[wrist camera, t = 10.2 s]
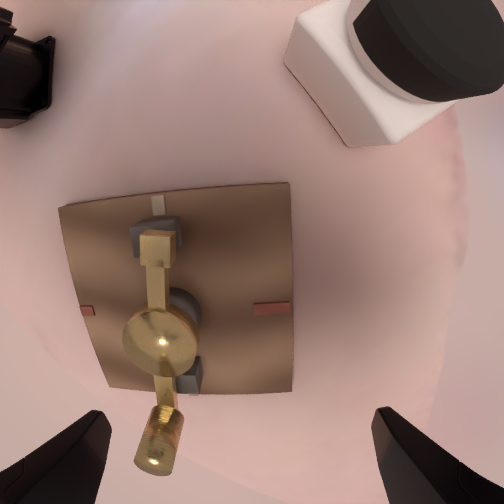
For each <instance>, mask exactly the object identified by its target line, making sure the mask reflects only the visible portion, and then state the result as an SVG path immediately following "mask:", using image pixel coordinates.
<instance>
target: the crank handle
mask: <svg viewBox="0 0 504 504" xmlns="http://www.w3.org/2000/svg"><path fill="white" fill-rule="evenodd" d="M175 261H176V231H165V230H152V229H147V230H146V231H144V232H143V233H142V234H140V265H144V266H146V281H147V299H148V303H146V304H144V305H142V306H141V307H139V308H138V309H137V310H136V312H135V313H134V314H133V316H132V317H131V319H130V320H129V321H128V323H127V324H126V326H125V327H124V330H123V333H122V343H123V347H124V350H125V352H126V354H127V355H128V357H129V358H130V359H131V361H132V362H133V363H134V364H135V365H137V366H138V367H139V368H140V369H142V370H144V371H145V372H147V373H150V374H152V375H153V376H154V384H155V390H156V397H157V403H158V405H157V406H155V407H153V408H152V410H151V413H150V416H149V419H148V421H147V424H146V427H145V430H144V432H143V435H142V438H141V441H140V444H139V447H138V450H137V452H136V456H135V458H134V463H135V465H136V466H137V467H138V468H140V469H141V470H143V471H145V472H147V473H150V474H152V475H157V476H168V475H170V474H171V473H172V469H173V465H174V461H175V456H176V452H177V448H178V444H179V440H180V435H181V431H182V427H183V423H184V417H183V415H182V413H181V412H179V411H178V401H177V391H176V379H175V376H179V375H182V374H183V373H185V372H187V371H188V370H189V369H190V368H191V366H192V365H193V363H194V360H195V356H196V353H197V349H198V346H199V341H200V334H199V330H198V327H197V325H196V323H195V321H194V320H193V319H192V317H191V316H190V315H189V314H188V313H187V312H185V311H184V310H183V309H181V308H180V307H178V306H176V305H173V304H171V303H170V297H169V268H171V266H172V265H173V263H174V262H175Z"/></svg>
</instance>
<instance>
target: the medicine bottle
mask: <svg viewBox="0 0 504 504" xmlns="http://www.w3.org/2000/svg"><path fill="white" fill-rule="evenodd" d="M284 64H285V65H286V66H287V68H288V69H289V70H290V71H291V72H292V74H293V75H294V76H295V77H296V78H297V80H298V81H299V82H300V83H301V85H302V86H303V87H304V88H305V90H306V91H307V92H308V93H309V95H310V96H311V97H312V98H313V100H314V101H315V102H316V104H317V105H318V106H319V108H320V109H321V110H322V112H323V113H324V114H325V116H326V117H327V118H328V120H329V121H330V123H331V124H332V125H333V127H334V128H335V130H336V131H337V132H338V134H339V135H340V137H341V138H342V140H343V141H344V143H345V144H346V145H347V146H348V147H360V146H375V145H394V144H397V143H399V142H400V141H402V140H403V139H404V138H406V137H407V136H409V135H410V134H412V133H413V132H414V131H416V130H417V129H419V128H420V127H421V126H423V125H424V124H426V123H427V122H429V121H430V120H431V119H433V118H434V117H436V116H437V115H438V114H440V113H441V112H443V111H444V110H446V109H447V108H448V107H450V106H451V105H453V104H454V103H456V102H457V101H458V100H460V99H463V98H468V97H474V96H479V95H485V94H490V93H493V92H495V91H497V90H498V89H499V88H500V87H502V85H503V84H504V22H503V20H502V18H501V16H500V14H499V12H498V10H497V9H496V7H495V5H494V4H493V2H492V1H491V0H327V1H325V2H323V3H321V4H318V5H316V6H314V7H312V8H310V9H308V10H306V11H304V12H302V13H300V14H299V15H298V16H297V17H296V20H295V23H294V27H293V30H292V33H291V37H290V40H289V44H288V47H287V50H286V54H285V57H284Z"/></svg>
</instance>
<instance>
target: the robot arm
mask: <svg viewBox="0 0 504 504" xmlns="http://www.w3.org/2000/svg"><path fill="white" fill-rule="evenodd" d="M12 17H13V12H11V11H9V10H7V9H4V8H2V7H0V128H11V127H13V126H15V125H17V124H20V123H22V122H24V121H27V120H28V119H29V118H30V116H31V115H33V114H35V113H38V112H40V111H43V110H45V109H47V108H48V107H49V106H50V104H51V81H52V65H53V53H54V44H55V38H54V37H52V36H48V37H46V38H44V39H42V40H40V41H38V42H36V43H35V42H32V41H30V40H27V39H24V38H22V37H19V36H16V35H14V33H15V32H16V30H17V29H16V28H15V27H14V26H12V25H11V24H12ZM49 41H50V42H49ZM48 42H49V43H48ZM45 101H46V102H45ZM44 102H45V105H44ZM371 429H372V435H373V440H374V445H375V451H376V456H377V462H378V467H379V470H380V474H381V477H382V480H383V483H384V487H385V490H386V493H387V497H388V500H389V503H390V504H504V488H503V487H500V486H499V485H497V484H495V483H493V482H491V481H489V480H487V479H486V478H484V477H482V476H480V475H479V474H477V473H476V472H474V471H473V470H471V469H470V468H468V467H467V466H466V465H465V464H463V463H462V462H460V463H459V460H458V459H456V458H455V457H454V456H452V455H451V454H450V453H448V452H447V451H445V450H444V449H443V448H442V447H440V446H439V445H438V444H437V443H435V442H434V441H433V440H431V439H430V438H429V437H427V436H426V435H425V434H424V433H422V432H421V431H420V430H418V429H417V428H416V427H415V426H413V425H412V424H411V423H410V422H408V421H407V420H406V419H404V418H403V417H402V416H401V415H399V414H398V413H397V412H396V411H394V410H393V409H392V408H391V407H388V406H386V407H381V408H378V409H377V410H376V411H375V415H374V418H373V421H372V425H371ZM111 433H112V429H111V425H110V423H109V421H108V420H107V418H106V416H105V414H104V413H103V412H102V411H98V410H91V411H90V412H88V413H87V414H86V415H84V416H83V417H81V418H80V419H78V420H77V421H76V422H74V423H73V424H71V425H70V426H69V427H67V428H66V429H65V430H63V431H62V432H60V433H59V434H57V435H56V436H55V437H53V438H52V439H50V440H49V441H47V442H46V443H44V444H43V445H41V446H40V447H39V448H37V449H36V450H34V451H33V452H31V453H30V454H28V455H27V456H25V458H22V459H21V460H19V461H18V462H16V463H15V464H13V465H12V466H10V467H8V468H7V469H5V470H3V471H1V472H0V504H95V500H96V496H97V493H98V489H99V486H100V482H101V479H102V475H103V472H104V469H105V464H106V460H107V453H108V448H109V443H110V437H111Z"/></svg>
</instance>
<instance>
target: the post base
mask: <svg viewBox="0 0 504 504" xmlns="http://www.w3.org/2000/svg"><path fill="white" fill-rule="evenodd" d="M58 211H59V218H60V224H61V229H62V235H63V240H64V245H65V249H66V254H67V259H68V263H69V267H70V271H71V275H72V279H73V283H74V287H75V291H76V294H77V298H78V301H79V305H80V306H79V307H80V310H81V313H82V316H83V318H84V321H85V324H86V327H87V330H88V333H89V336H90V339H91V342H92V344H93V347H94V350H95V352H96V355H97V358H98V360H99V363H100V365H101V368H102V370H103V373H104V375H105V378H106V380H107V383H108V385H109V387H112V388H120V389H129V390H139V391H150V392H156V390H155V384H154V376H153V375H152V374H150V373H147V372H145V371H144V370H142V369H140V368H139V367H138V366H137V365H135V364H134V363H133V362H132V361H131V359H130V358H129V357H128V355H127V354H126V352H125V350H124V347H123V343H122V333H123V330H124V327H125V326H126V324H127V323H128V321H129V320H130V319H131V317H132V316H133V314H134V313H135V312H136V310H137V309H138V308H139V307H141V306H142V305H144V304H146V303H148V299H147V281H146V266H144V265H140V234H142V233H143V232H144V231H146V230H147V229H152V230H165V231H176V261H175V262H174V263H173V265H172V266H171V268H169V297H170V303H171V304H173V305H176V306H178V307H180V308H181V309H183V310H184V311H185V312H187V313H188V314H189V315H190V316H191V317H192V319H193V320H194V321H195V323H196V325H197V327H198V330H199V334H200V341H199V346H198V349H197V353H196V356H195V360H194V363H193V365H192V366H191V368H190V369H189V370H188V371H187V372H185V373H183V374H182V375H179V376H175V379H176V391H177V393H182V394H189V395H191V396H198V394H263V393H281V392H292V368H293V270H292V227H291V199H290V184H289V183H288V182H283V183H262V184H245V185H230V186H217V187H205V188H194V189H183V190H173V191H164V192H155V193H146V194H138V195H130V196H123V197H115V198H108V199H101V200H95V201H88V202H82V203H76V204H70V205H65V206H62V207H59V208H58Z"/></svg>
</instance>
